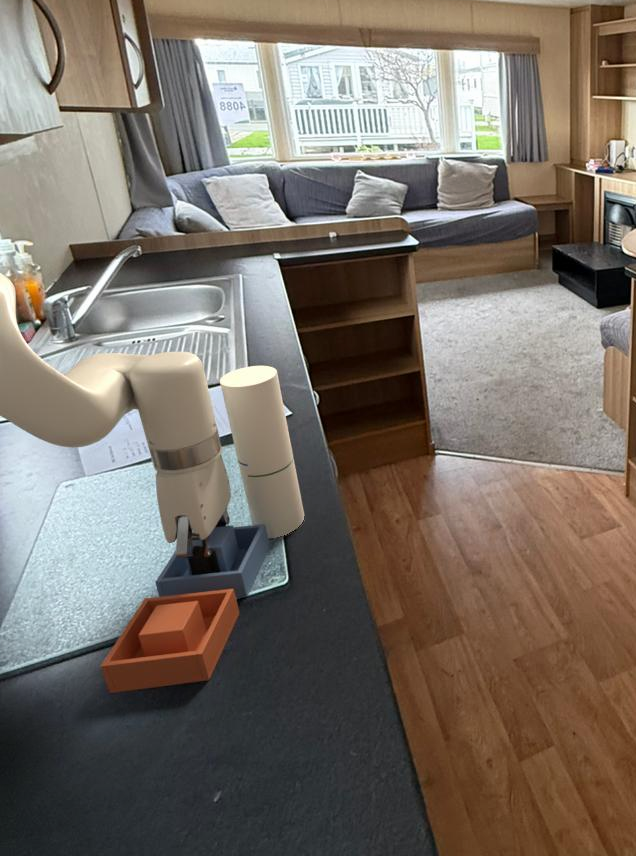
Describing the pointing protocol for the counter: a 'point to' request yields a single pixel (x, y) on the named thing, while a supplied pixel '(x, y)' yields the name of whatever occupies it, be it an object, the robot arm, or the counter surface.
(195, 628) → the terracotta block
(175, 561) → the slate bin
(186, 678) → the terracotta bin
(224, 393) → the cylindrical container
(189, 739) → the counter surface
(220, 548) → the slate block
